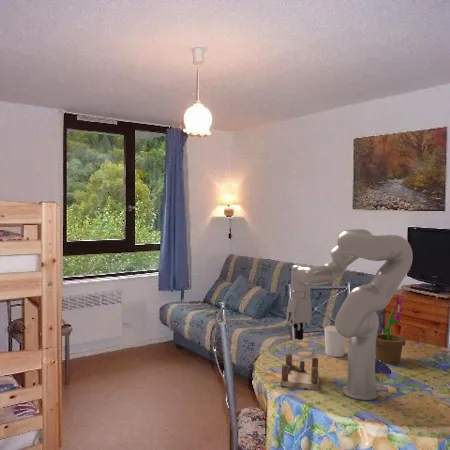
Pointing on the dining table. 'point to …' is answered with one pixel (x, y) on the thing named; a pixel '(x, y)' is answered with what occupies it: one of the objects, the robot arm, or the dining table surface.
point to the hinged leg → (293, 367)
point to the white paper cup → (334, 342)
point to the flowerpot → (390, 339)
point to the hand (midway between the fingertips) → (299, 338)
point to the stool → (301, 377)
